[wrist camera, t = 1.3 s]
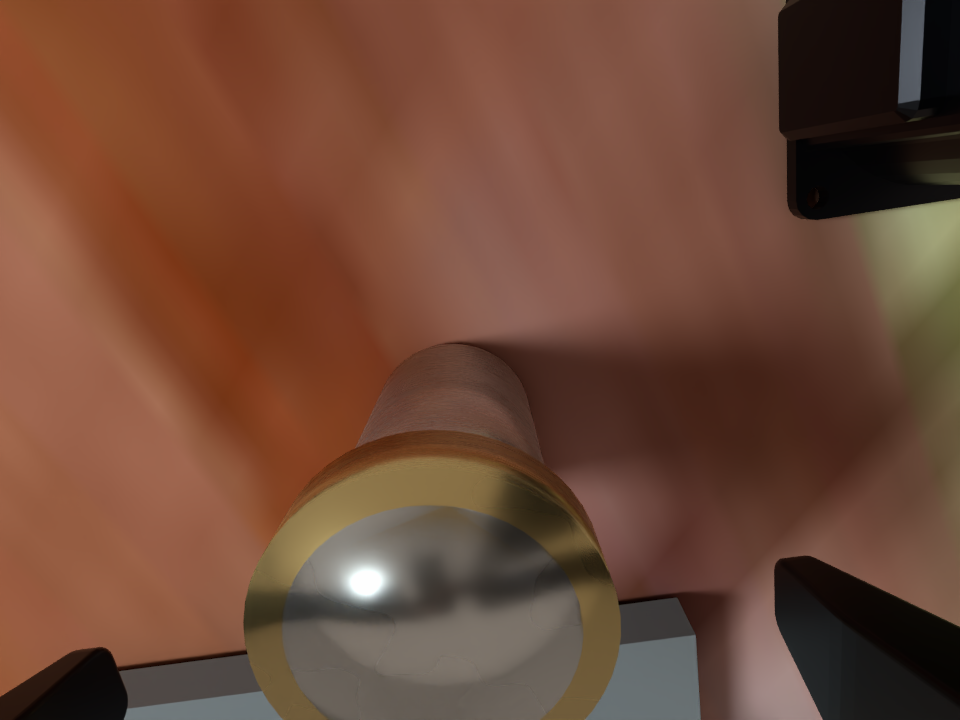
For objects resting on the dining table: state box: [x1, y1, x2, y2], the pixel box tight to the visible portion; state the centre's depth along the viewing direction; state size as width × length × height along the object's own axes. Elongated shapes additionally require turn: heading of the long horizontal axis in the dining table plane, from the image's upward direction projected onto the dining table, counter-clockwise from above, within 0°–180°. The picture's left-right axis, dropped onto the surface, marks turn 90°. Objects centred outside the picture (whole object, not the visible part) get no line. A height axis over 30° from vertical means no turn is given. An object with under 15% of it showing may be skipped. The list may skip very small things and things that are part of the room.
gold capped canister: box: [244, 344, 621, 720], centre depth 12 cm, size 5×5×8 cm
